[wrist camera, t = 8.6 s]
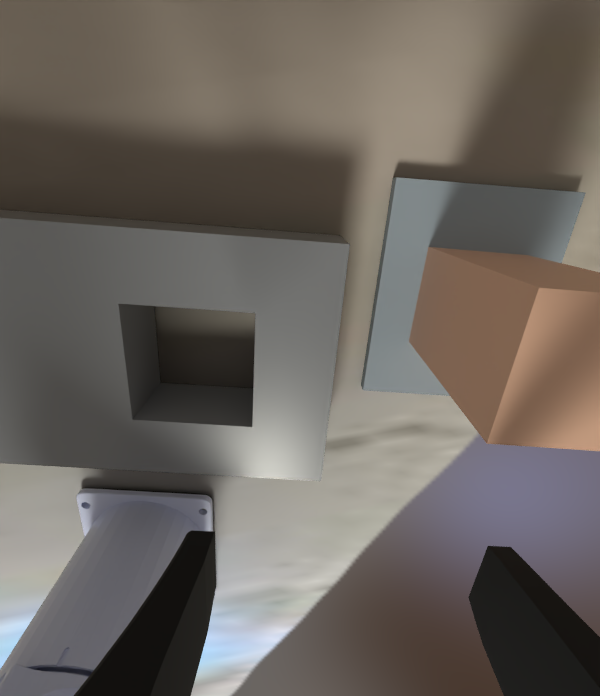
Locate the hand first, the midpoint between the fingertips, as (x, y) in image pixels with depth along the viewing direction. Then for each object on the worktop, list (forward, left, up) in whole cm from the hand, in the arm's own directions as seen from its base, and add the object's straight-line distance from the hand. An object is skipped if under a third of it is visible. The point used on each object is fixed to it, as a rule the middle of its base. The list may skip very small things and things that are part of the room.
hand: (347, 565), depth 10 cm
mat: (+5, -6, -10) cm, 13 cm away
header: (+2, +8, -10) cm, 13 cm away
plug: (+5, -6, -10) cm, 13 cm away
